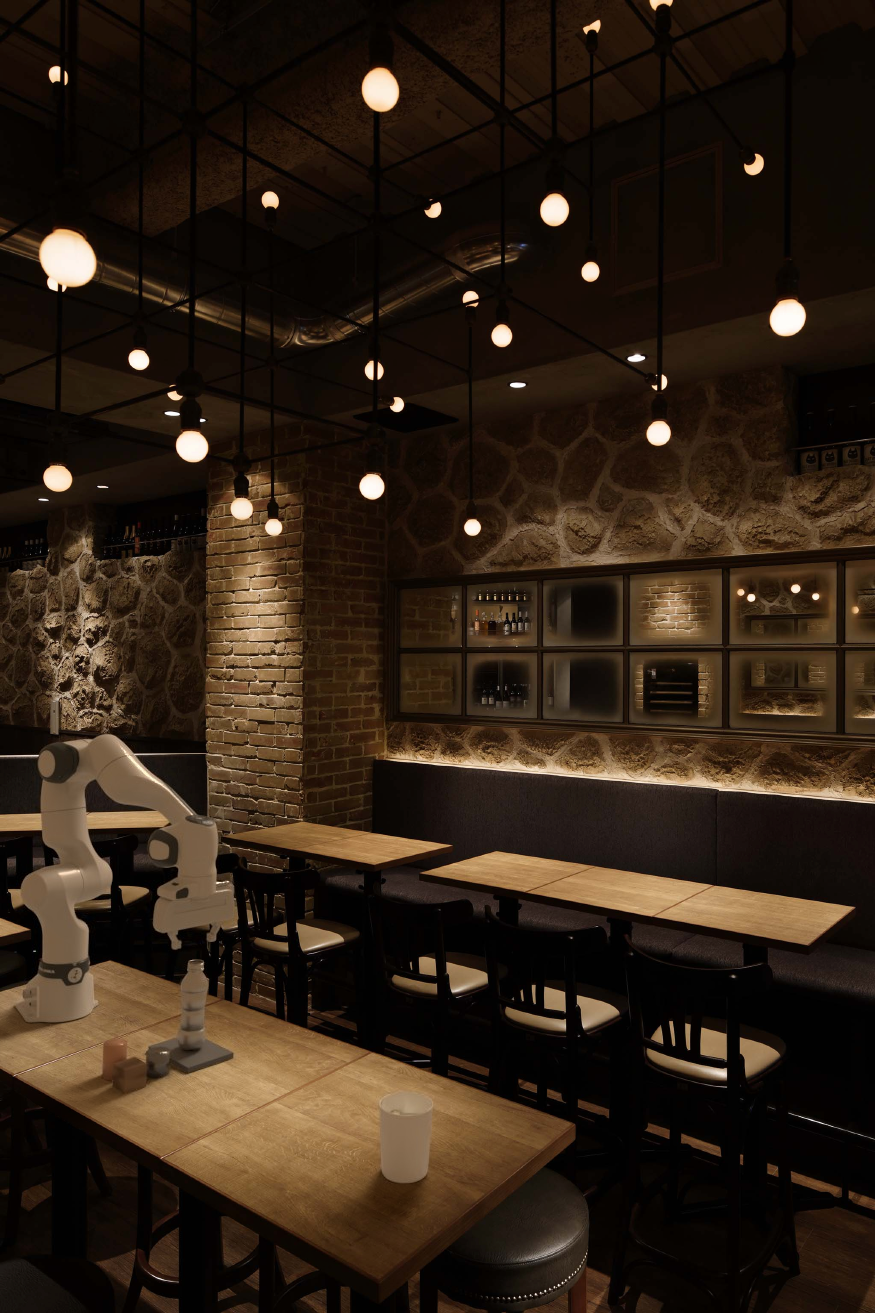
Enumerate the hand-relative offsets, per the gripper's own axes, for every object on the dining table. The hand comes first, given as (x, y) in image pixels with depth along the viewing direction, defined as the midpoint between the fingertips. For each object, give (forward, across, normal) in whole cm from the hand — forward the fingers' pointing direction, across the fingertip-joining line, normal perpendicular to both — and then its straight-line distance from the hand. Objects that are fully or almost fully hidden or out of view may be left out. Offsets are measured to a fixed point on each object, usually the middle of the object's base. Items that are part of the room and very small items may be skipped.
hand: (194, 944), depth 209 cm
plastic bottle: (+24, 0, 0) cm, 24 cm away
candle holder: (+24, +1, +72) cm, 76 cm away
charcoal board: (+25, 0, 0) cm, 25 cm away
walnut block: (+26, +18, +6) cm, 32 cm away
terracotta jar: (+26, +18, -2) cm, 31 cm away
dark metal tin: (+25, +11, +4) cm, 28 cm away
